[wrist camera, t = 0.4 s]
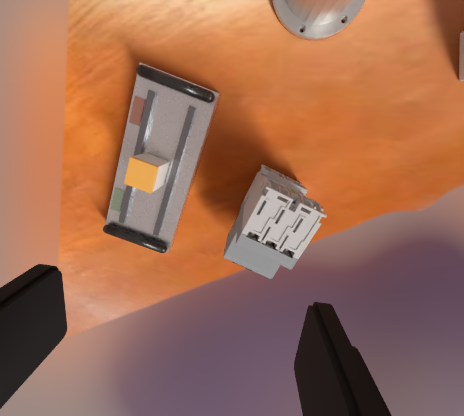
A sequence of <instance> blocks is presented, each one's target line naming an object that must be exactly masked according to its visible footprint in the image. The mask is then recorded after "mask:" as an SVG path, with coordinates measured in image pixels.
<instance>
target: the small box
mask: <svg viewBox="0 0 464 416" xmlns="http://www.w3.org/2000/svg"><path fill="white" fill-rule="evenodd" d="M462 80H464V31H462V32H461V33H460V42H459V81H462Z"/></svg>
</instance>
